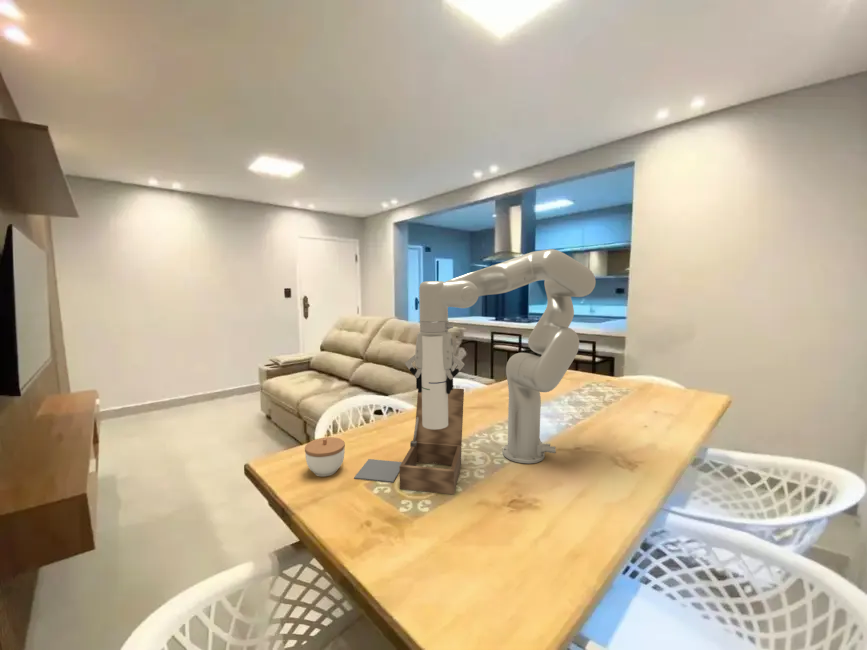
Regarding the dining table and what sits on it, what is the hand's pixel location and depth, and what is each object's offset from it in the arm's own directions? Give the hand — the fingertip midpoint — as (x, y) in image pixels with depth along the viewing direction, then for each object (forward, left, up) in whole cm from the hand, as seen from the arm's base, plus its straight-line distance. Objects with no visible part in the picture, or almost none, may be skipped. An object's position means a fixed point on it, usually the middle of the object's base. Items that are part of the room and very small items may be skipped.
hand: (434, 391), depth 102 cm
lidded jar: (+30, +5, -23) cm, 39 cm away
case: (0, -1, -23) cm, 23 cm away
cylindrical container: (0, 0, -10) cm, 10 cm away
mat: (+15, +2, -23) cm, 28 cm away
